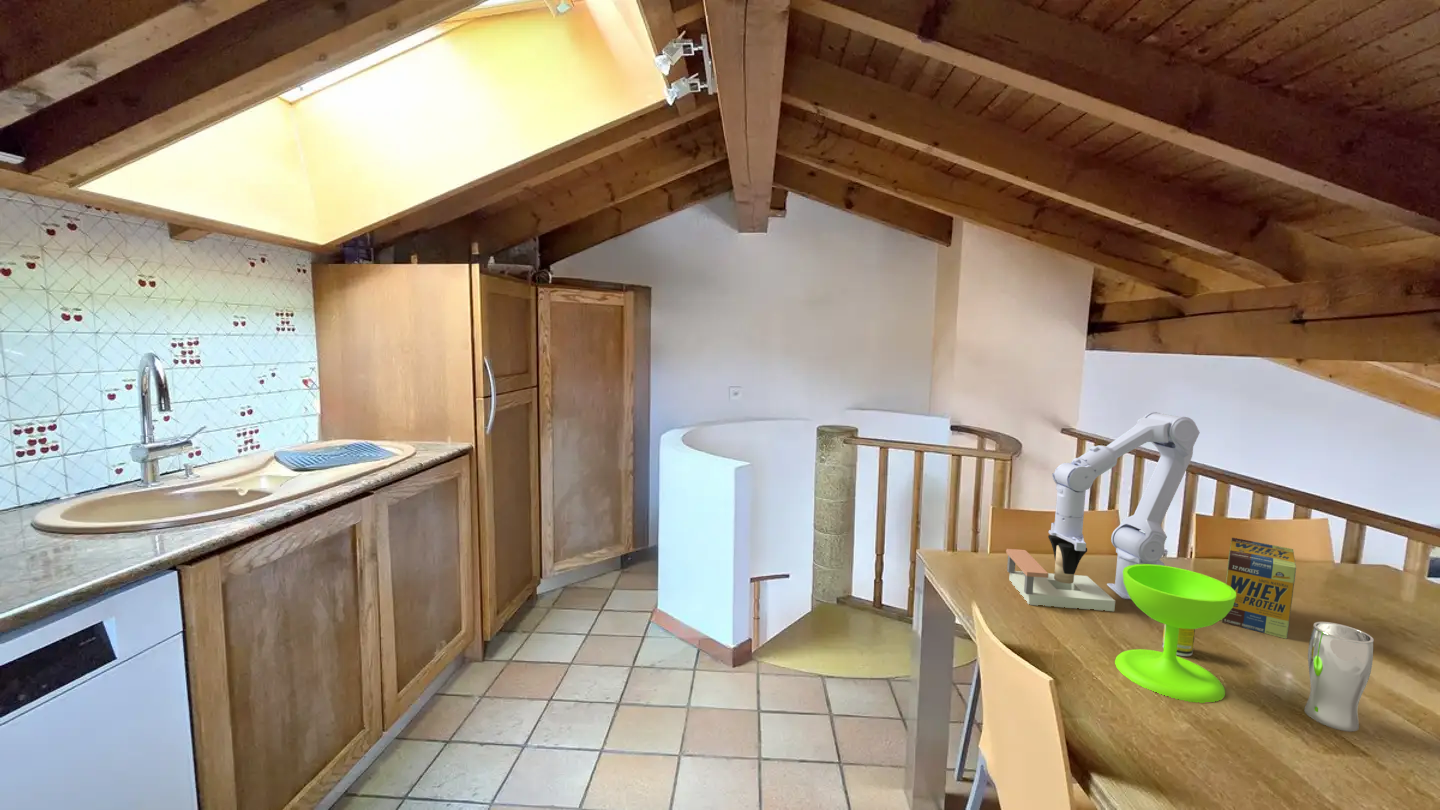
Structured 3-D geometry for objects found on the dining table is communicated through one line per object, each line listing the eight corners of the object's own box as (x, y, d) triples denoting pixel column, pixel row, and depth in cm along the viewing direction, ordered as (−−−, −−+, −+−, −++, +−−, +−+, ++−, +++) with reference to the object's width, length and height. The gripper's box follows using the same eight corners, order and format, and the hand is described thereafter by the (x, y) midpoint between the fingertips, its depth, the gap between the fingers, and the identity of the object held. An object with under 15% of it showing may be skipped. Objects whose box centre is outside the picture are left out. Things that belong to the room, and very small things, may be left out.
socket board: (1086, 585, 144) (1087, 575, 144) (1114, 611, 131) (1115, 600, 130) (1009, 580, 147) (1009, 570, 147) (1028, 604, 134) (1029, 594, 133)
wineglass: (1234, 714, 95) (1246, 610, 93) (1116, 683, 103) (1125, 586, 101) (1215, 668, 108) (1226, 575, 106) (1112, 643, 117) (1120, 558, 115)
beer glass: (1288, 706, 97) (1299, 621, 95) (1326, 704, 97) (1337, 620, 96) (1335, 735, 90) (1348, 643, 88) (1376, 732, 91) (1389, 642, 89)
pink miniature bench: (1023, 570, 147) (1025, 550, 146) (1046, 596, 132) (1048, 573, 132) (1005, 569, 148) (1006, 548, 147) (1025, 595, 133) (1027, 572, 132)
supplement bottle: (1198, 658, 112) (1202, 616, 111) (1170, 655, 112) (1174, 614, 112) (1183, 645, 116) (1187, 605, 115) (1157, 643, 117) (1160, 603, 116)
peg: (1069, 577, 140) (1071, 545, 139) (1076, 584, 136) (1079, 551, 135) (1051, 575, 141) (1053, 544, 140) (1058, 582, 137) (1060, 550, 136)
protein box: (1220, 623, 126) (1228, 554, 124) (1224, 600, 137) (1231, 536, 135) (1288, 640, 119) (1297, 567, 117) (1285, 614, 130) (1294, 547, 128)
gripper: (1039, 504, 144) (1035, 557, 146) (1063, 522, 130) (1059, 580, 132) (1070, 506, 143) (1066, 559, 145) (1098, 524, 129) (1093, 583, 131)
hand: (1064, 569), depth 138 cm, fingers closed on peg, 4 cm apart
